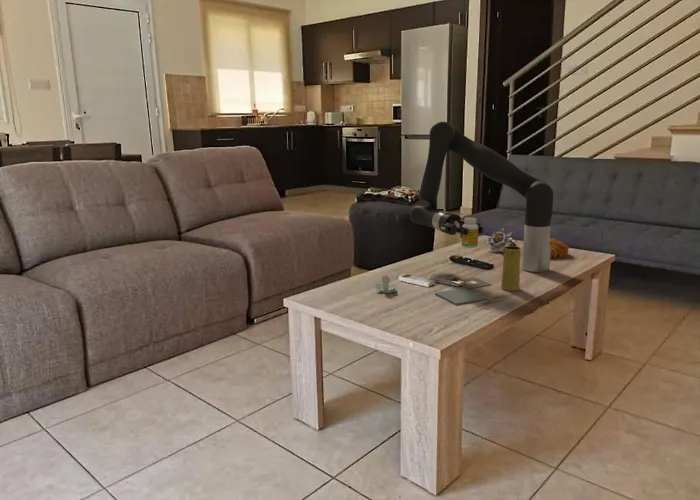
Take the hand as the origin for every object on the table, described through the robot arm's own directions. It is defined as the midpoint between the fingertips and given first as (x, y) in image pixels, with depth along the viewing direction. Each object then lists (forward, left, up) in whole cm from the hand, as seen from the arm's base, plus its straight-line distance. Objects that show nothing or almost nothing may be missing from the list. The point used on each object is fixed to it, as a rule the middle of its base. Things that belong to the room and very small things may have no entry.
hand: (474, 231), depth 182 cm
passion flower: (-43, -38, -20) cm, 61 cm away
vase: (-11, +7, -20) cm, 23 cm away
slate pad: (+9, +7, -20) cm, 23 cm away
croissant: (-56, -23, -20) cm, 64 cm away
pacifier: (+28, -9, -20) cm, 36 cm away
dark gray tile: (-3, -4, -20) cm, 20 cm away
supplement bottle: (0, -3, -6) cm, 7 cm away
